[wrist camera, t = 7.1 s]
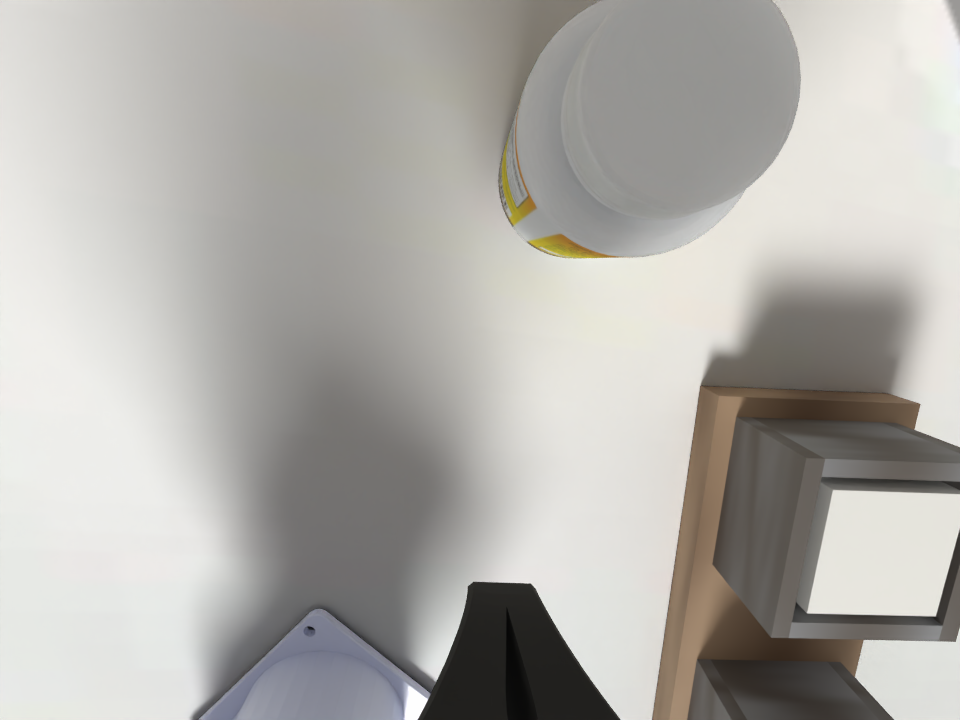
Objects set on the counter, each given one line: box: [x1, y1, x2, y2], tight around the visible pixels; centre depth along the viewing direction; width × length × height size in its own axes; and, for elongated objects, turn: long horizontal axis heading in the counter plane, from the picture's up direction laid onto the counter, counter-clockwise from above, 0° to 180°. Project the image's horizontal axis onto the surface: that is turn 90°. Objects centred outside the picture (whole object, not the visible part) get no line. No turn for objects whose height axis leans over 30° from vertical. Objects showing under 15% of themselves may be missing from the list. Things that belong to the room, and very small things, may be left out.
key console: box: [652, 386, 960, 720], centre depth 20 cm, size 8×19×6 cm, turn 177°
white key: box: [796, 477, 960, 616], centre depth 17 cm, size 4×4×2 cm
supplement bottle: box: [498, 0, 801, 258], centre depth 13 cm, size 6×6×10 cm
